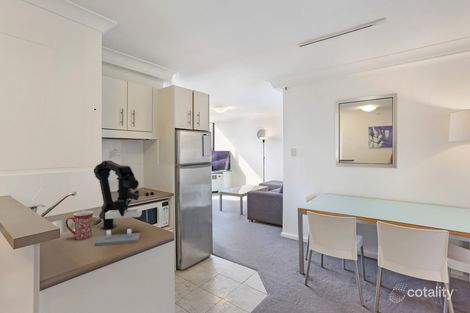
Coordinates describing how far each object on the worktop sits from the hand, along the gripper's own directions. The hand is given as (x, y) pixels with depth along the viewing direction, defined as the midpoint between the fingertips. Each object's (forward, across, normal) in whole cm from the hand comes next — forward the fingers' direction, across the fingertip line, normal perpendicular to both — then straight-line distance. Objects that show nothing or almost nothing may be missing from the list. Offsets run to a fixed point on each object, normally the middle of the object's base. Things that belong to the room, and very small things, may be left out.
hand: (124, 214), depth 130 cm
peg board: (+11, -11, 0) cm, 15 cm away
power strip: (+1, 0, 0) cm, 1 cm away
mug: (+11, -2, +22) cm, 25 cm away
